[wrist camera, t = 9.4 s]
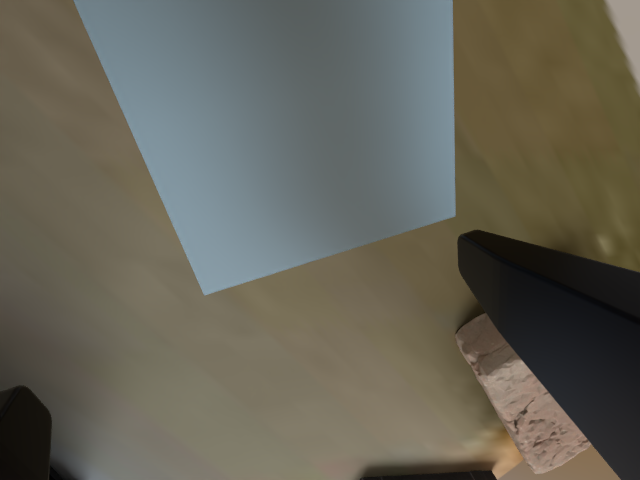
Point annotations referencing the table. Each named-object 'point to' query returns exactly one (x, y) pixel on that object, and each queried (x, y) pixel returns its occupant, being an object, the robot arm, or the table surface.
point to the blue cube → (285, 122)
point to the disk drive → (441, 476)
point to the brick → (520, 398)
